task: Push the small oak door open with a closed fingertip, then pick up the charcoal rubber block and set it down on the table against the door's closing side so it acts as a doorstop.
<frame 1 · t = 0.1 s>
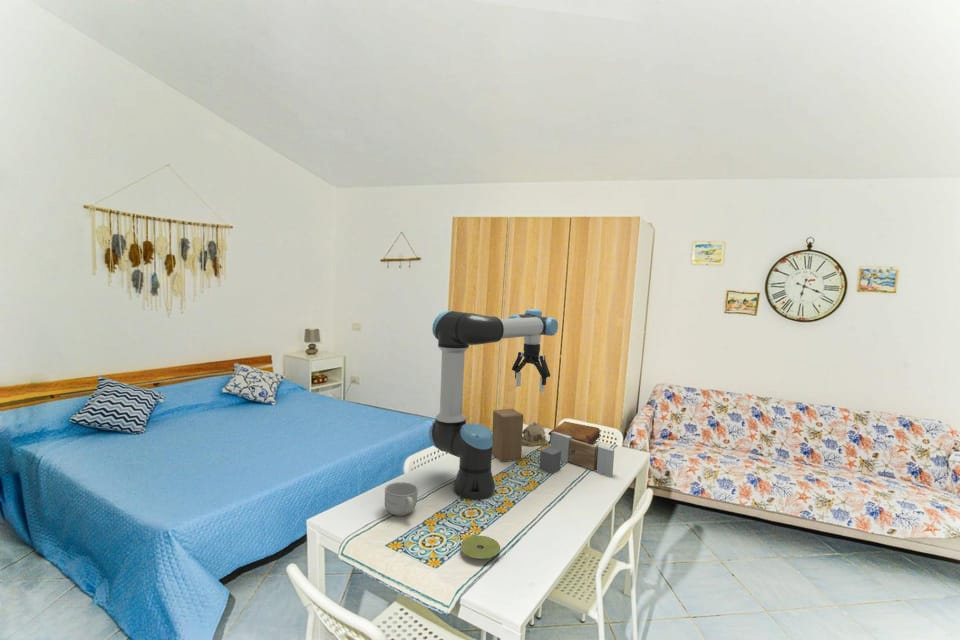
hand: (529, 389, 212), 28 cm above the table, fingers open, 13 cm apart
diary: (574, 441, 227), on the table
ceramic model: (533, 443, 222), on the table
olive green disc: (480, 553, 130), on the table
door: (582, 454, 194), point 6 cm above the table, hinge at 0.0°
wooden block: (506, 457, 203), on the table
teacup: (401, 514, 150), on the table
door frame: (595, 471, 191), on the table
doorstop: (549, 469, 191), on the table
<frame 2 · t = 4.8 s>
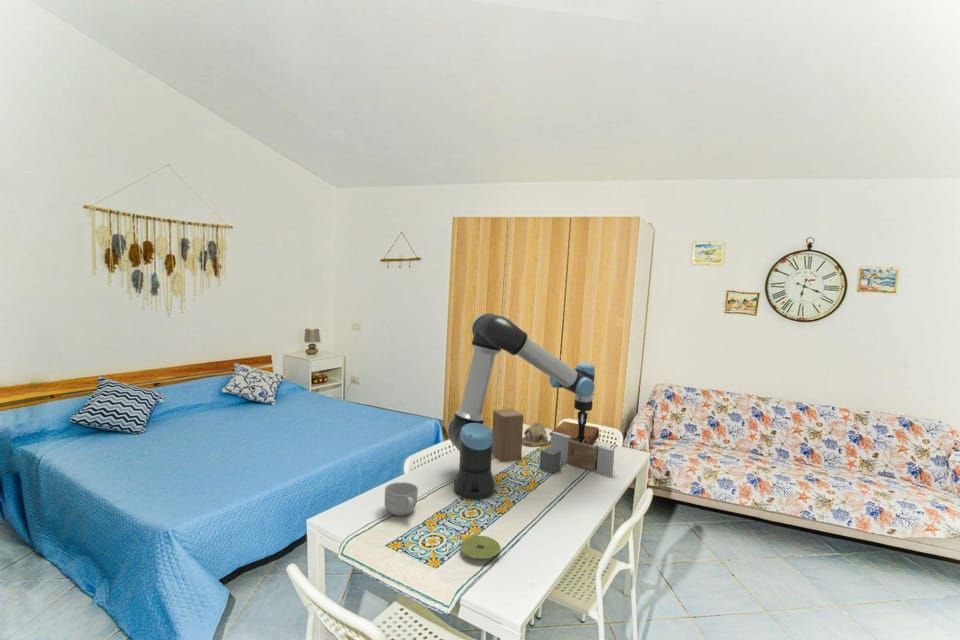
hand: (579, 453, 198), 4 cm above the table, fingers closed
door: (582, 454, 193), point 6 cm above the table, hinge at 6.1°, touching gripper
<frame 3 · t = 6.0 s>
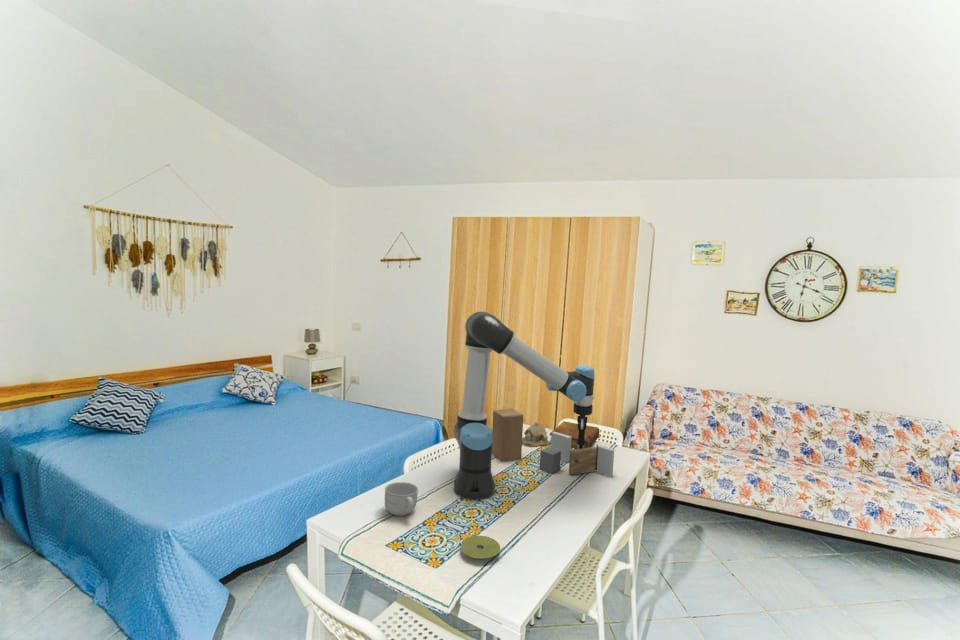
hand: (580, 458, 191), 5 cm above the table, fingers closed
door: (585, 460, 187), point 6 cm above the table, hinge at 64.9°, touching gripper
everything else where it was.
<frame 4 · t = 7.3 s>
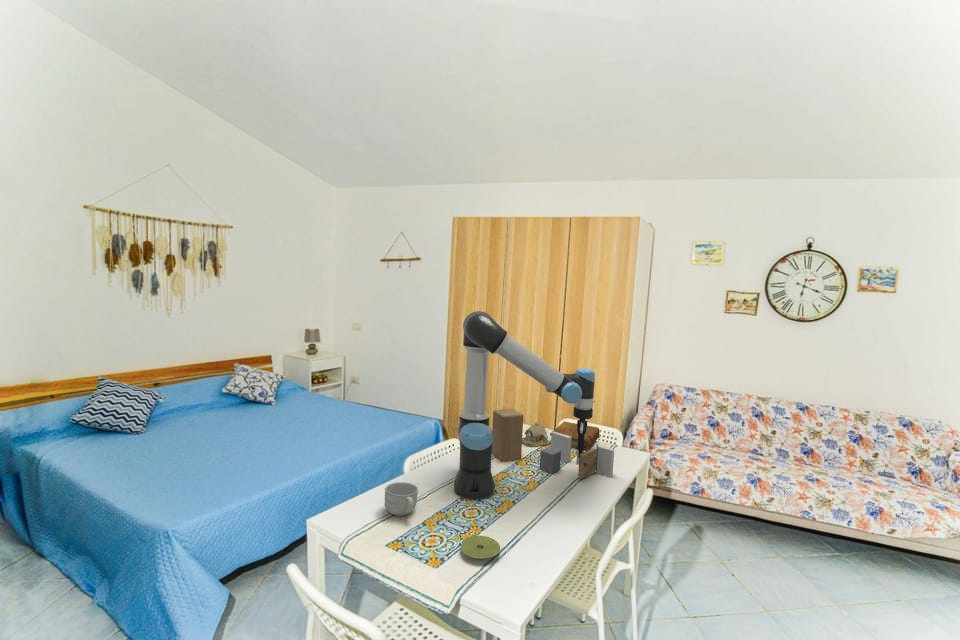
hand: (579, 464, 186), 4 cm above the table, fingers closed
door: (590, 462, 185), point 6 cm above the table, hinge at 88.8°, touching gripper
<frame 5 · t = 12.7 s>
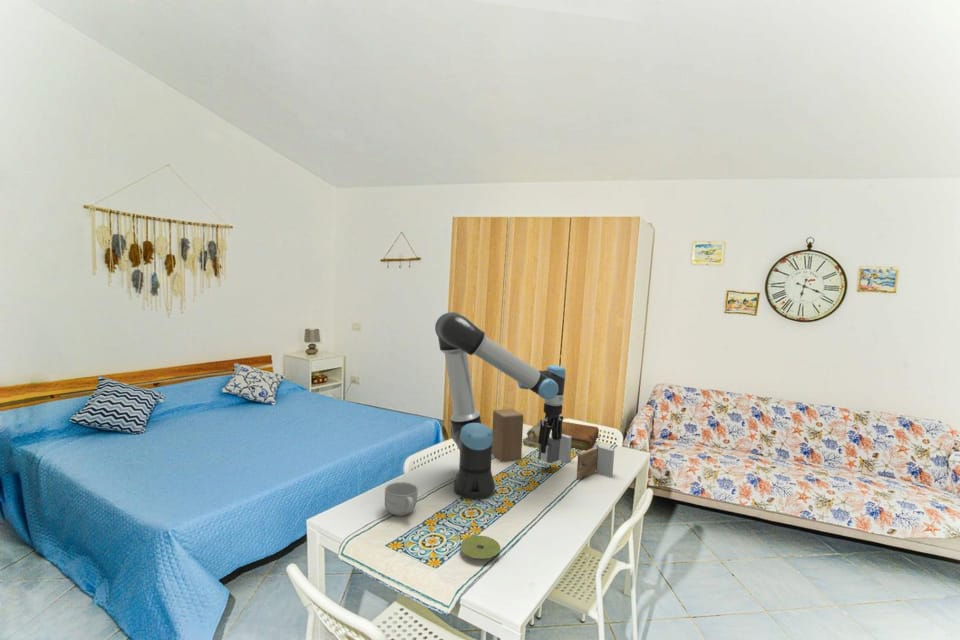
hand: (548, 458, 190), 5 cm above the table, fingers closed on doorstop, 6 cm apart
door: (589, 461, 186), point 6 cm above the table, hinge at 85.7°
doorstop: (548, 459, 190), point 4 cm above the table, touching gripper
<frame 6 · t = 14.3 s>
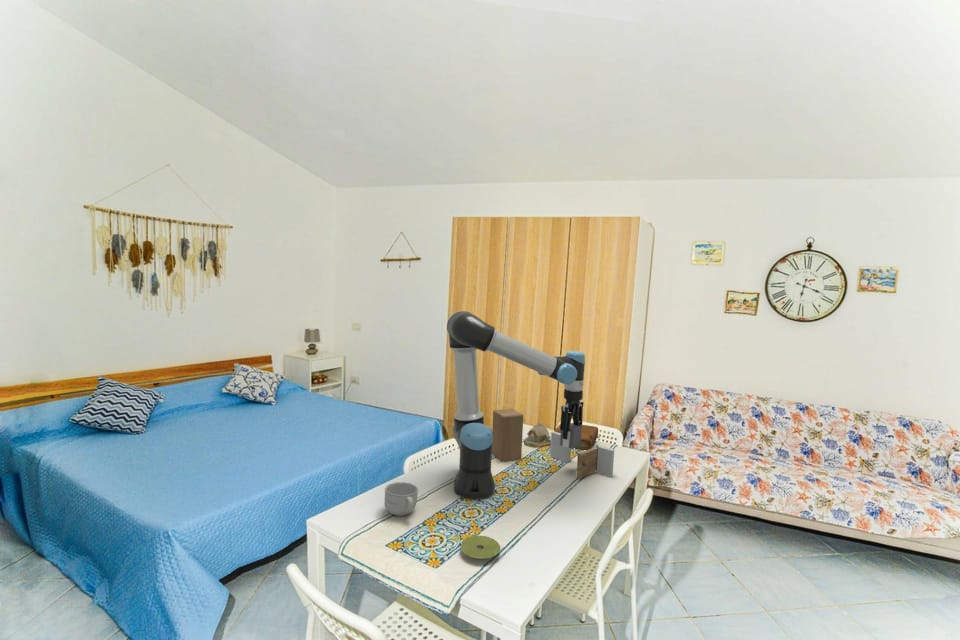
hand: (570, 444, 189), 11 cm above the table, fingers closed on doorstop, 6 cm apart
door: (589, 461, 186), point 6 cm above the table, hinge at 85.1°
doorstop: (570, 445, 189), point 11 cm above the table, touching gripper
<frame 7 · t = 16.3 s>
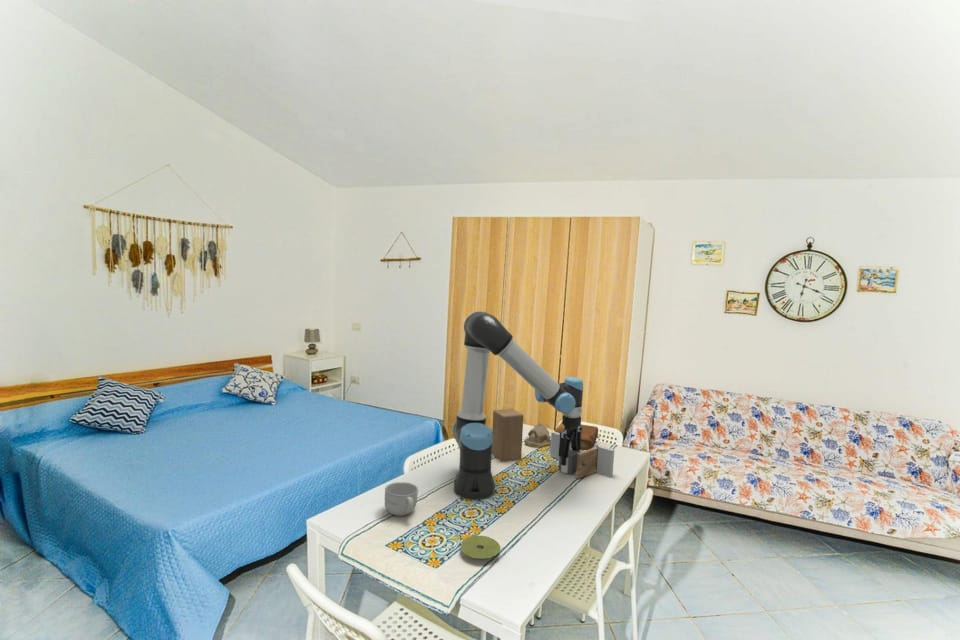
hand: (568, 470, 190), 0 cm above the table, fingers closed on doorstop, 6 cm apart
door: (589, 461, 186), point 6 cm above the table, hinge at 84.4°
doorstop: (568, 470, 190), on the table, touching gripper
when the fingers open (0 cm above the table, at t = 16.5 s): doorstop stays where it is, on the table.
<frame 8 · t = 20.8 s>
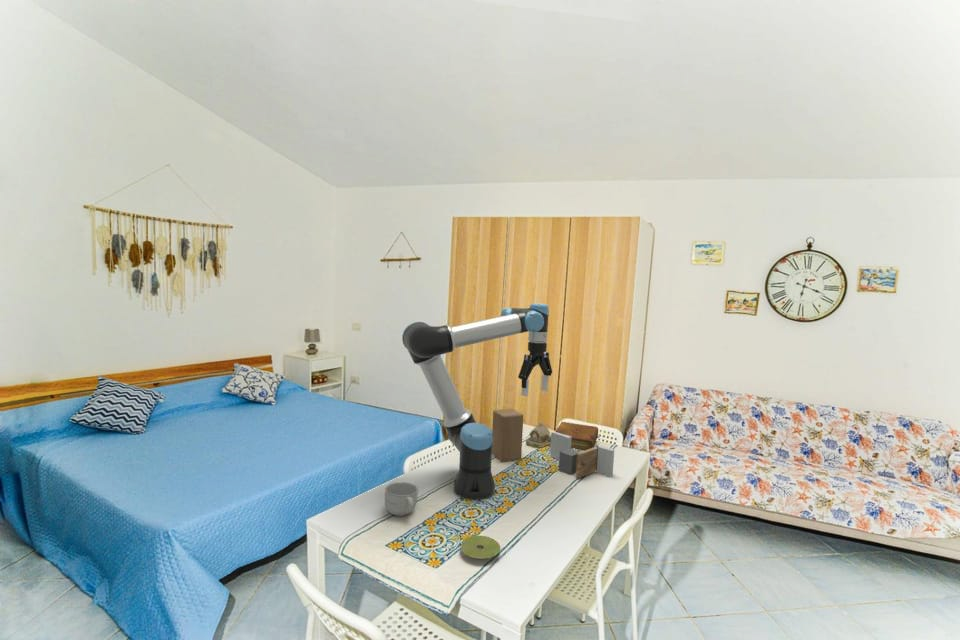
hand: (534, 393, 188), 32 cm above the table, fingers open, 13 cm apart
door: (588, 461, 186), point 6 cm above the table, hinge at 83.4°
doorstop: (568, 470, 190), on the table
at the end: door at +83° (first picture: +0°); doorstop inside the target area (0.0 cm from its centre), on the table; the gripper is holding nothing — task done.
